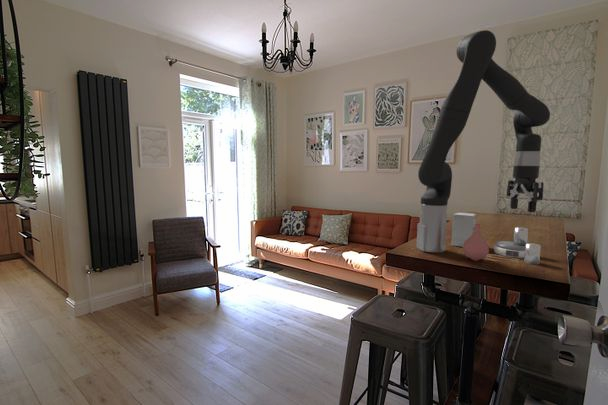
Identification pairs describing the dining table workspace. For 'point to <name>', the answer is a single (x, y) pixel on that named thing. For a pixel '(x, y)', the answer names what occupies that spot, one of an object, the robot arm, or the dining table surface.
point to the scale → (509, 249)
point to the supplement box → (462, 228)
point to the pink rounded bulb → (475, 245)
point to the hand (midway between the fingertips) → (522, 210)
